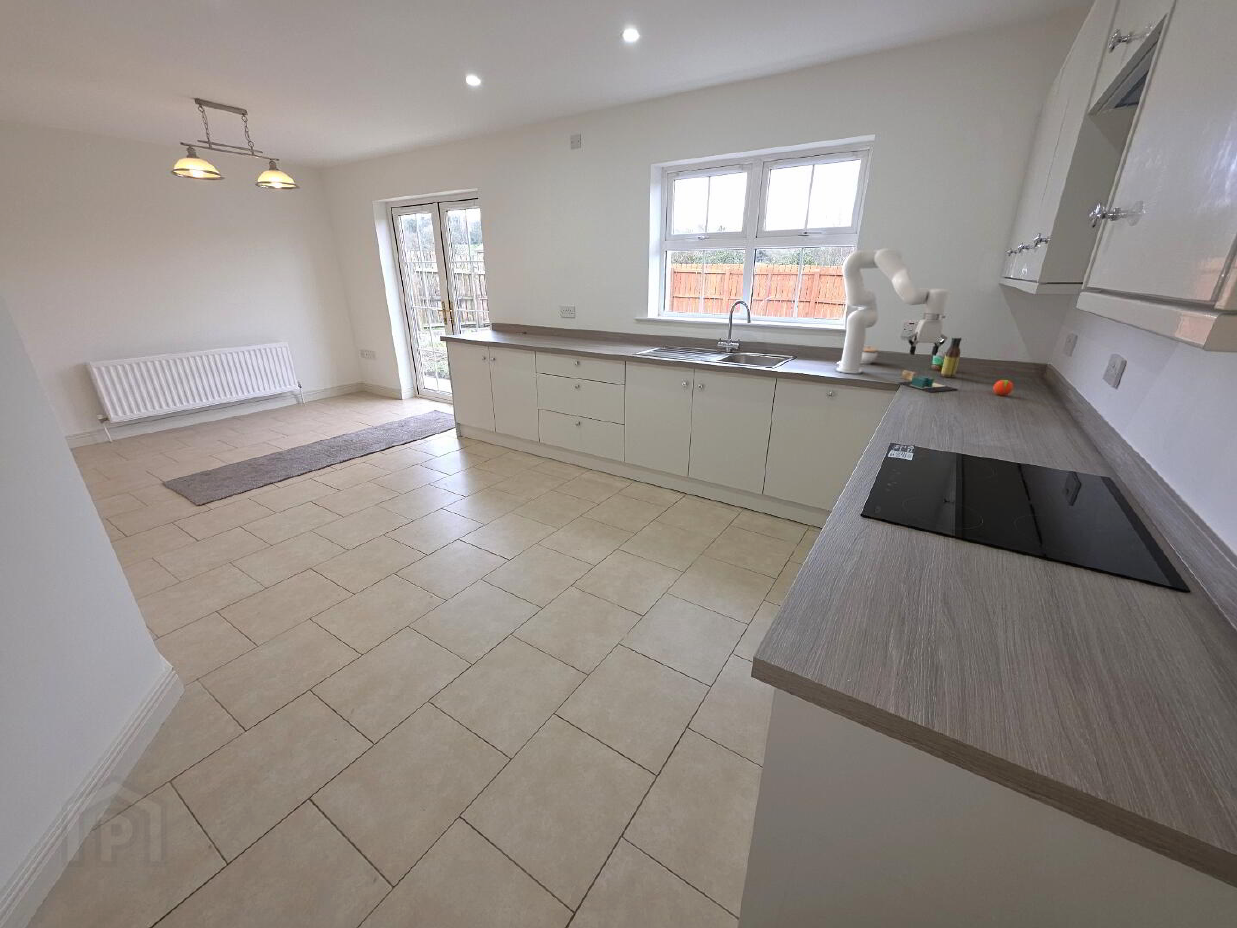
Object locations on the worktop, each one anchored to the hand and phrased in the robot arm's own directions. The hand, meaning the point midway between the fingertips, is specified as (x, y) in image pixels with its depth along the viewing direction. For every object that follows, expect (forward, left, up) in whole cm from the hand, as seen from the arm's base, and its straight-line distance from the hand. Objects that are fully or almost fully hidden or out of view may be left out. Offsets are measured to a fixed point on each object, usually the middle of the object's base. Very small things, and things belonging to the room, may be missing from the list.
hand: (922, 354), depth 229 cm
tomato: (+28, +19, -14) cm, 37 cm away
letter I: (-8, +4, -14) cm, 17 cm away
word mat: (+6, +1, -14) cm, 15 cm away
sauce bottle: (-7, +29, -14) cm, 33 cm away
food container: (-20, +38, -14) cm, 46 cm away
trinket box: (-48, +15, -14) cm, 53 cm away
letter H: (+6, -3, -14) cm, 15 cm away
